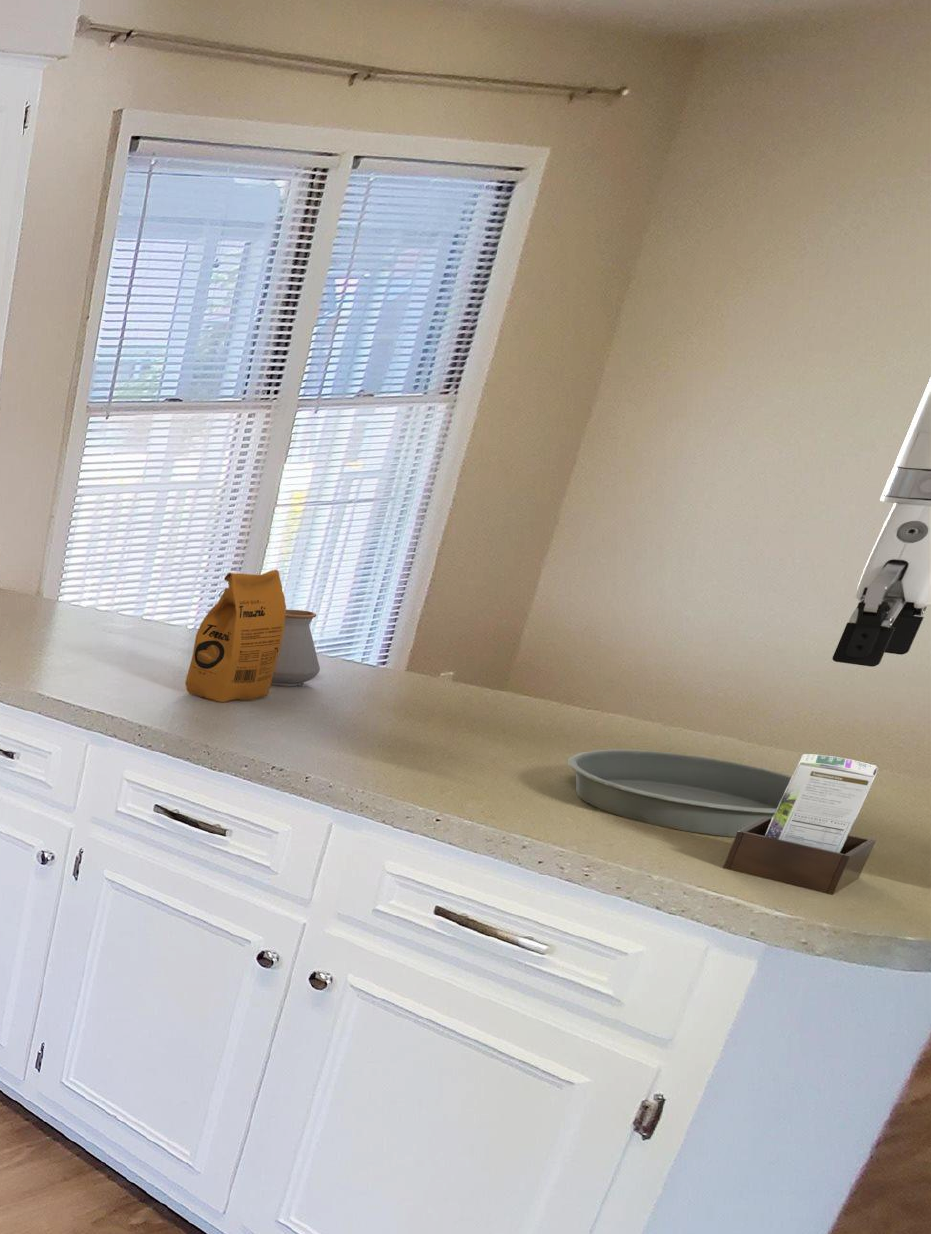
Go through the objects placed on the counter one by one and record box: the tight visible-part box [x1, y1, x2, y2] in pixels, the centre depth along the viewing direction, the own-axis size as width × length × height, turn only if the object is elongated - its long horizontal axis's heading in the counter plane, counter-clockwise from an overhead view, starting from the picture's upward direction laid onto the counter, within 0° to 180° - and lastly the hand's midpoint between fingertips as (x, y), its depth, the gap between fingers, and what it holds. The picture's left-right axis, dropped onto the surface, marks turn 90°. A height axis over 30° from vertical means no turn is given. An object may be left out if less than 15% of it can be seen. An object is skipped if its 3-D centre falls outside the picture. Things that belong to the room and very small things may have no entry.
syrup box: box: [765, 753, 879, 853], centre depth 128 cm, size 6×6×14 cm
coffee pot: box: [218, 587, 321, 687], centre depth 219 cm, size 21×12×15 cm, turn 17°
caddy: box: [722, 817, 876, 896], centre depth 130 cm, size 9×9×6 cm
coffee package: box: [184, 569, 287, 703], centre depth 205 cm, size 10×12×22 cm
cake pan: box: [567, 749, 792, 838], centre depth 152 cm, size 25×25×4 cm
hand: (869, 657), depth 122 cm, fingers open, 9 cm apart
